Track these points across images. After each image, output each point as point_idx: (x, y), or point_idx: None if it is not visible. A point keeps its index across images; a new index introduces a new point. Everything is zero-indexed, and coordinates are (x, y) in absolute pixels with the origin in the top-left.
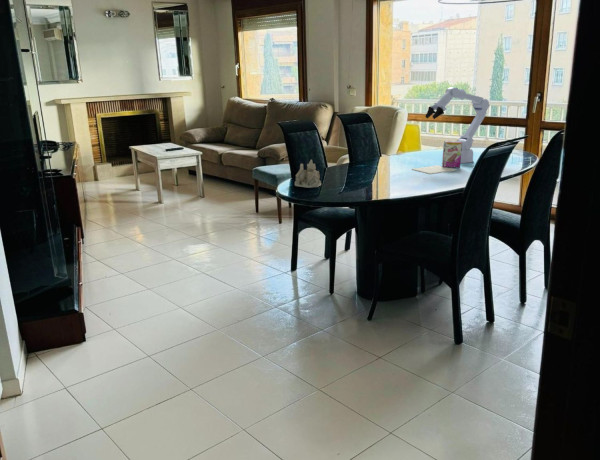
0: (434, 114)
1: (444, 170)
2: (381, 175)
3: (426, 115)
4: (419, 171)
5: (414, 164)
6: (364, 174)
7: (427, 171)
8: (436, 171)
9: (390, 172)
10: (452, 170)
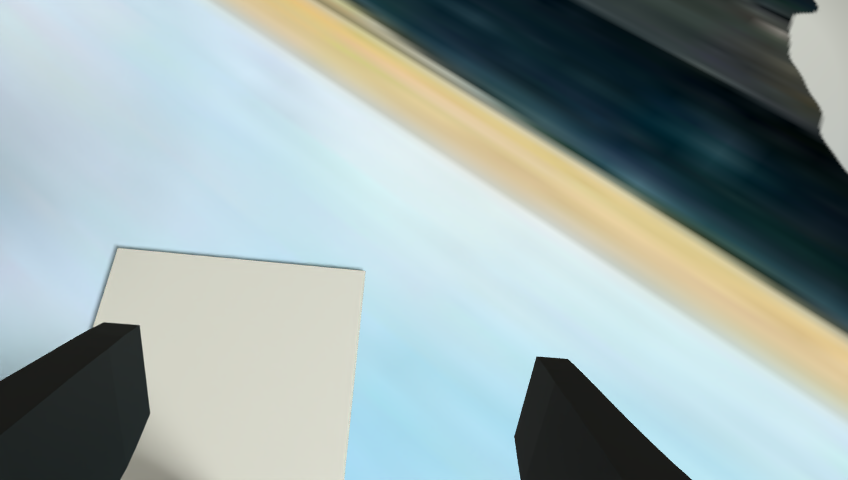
0: (16, 372)
1: None
2: (351, 43)
3: (548, 384)
4: (261, 262)
5: None
6: (447, 10)
7: (189, 283)
8: None
9: (390, 125)
10: None
